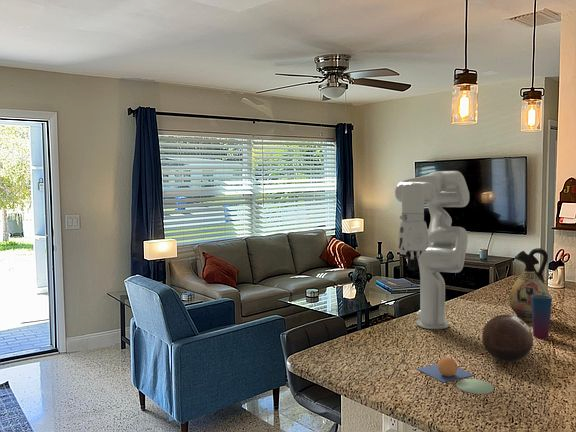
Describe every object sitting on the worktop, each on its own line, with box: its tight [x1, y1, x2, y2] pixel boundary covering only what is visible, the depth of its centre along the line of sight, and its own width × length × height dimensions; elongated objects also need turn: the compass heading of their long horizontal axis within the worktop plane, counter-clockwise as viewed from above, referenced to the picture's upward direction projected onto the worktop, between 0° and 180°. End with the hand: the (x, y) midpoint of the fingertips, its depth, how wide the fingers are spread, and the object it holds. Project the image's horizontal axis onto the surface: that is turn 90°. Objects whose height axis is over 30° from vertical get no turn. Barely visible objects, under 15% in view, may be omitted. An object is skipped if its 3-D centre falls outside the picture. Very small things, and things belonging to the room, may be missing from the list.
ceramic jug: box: [508, 247, 551, 323], centre depth 208 cm, size 17×15×30 cm
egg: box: [437, 356, 459, 377], centre depth 152 cm, size 6×6×6 cm
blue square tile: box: [416, 363, 475, 384], centre depth 155 cm, size 12×12×1 cm
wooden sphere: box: [481, 314, 534, 364], centre depth 162 cm, size 15×15×15 cm
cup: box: [531, 294, 553, 339], centre depth 186 cm, size 7×7×15 cm
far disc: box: [455, 378, 495, 395], centre depth 144 cm, size 10×10×1 cm
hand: (412, 269), depth 179 cm, fingers closed
